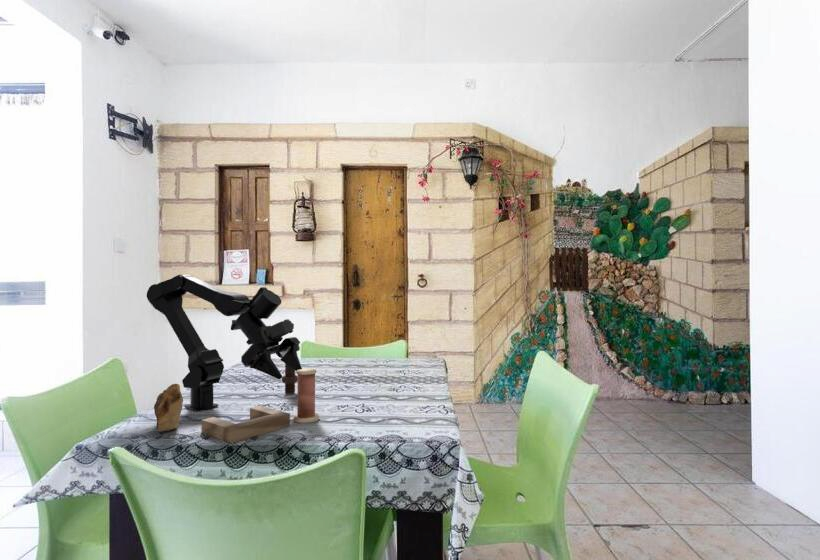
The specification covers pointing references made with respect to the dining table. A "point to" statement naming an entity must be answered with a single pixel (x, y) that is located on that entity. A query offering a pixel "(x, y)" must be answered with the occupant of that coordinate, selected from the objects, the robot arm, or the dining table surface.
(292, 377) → the bolt
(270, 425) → the notch board
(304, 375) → the bobbin
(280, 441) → the dining table surface
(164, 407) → the decorative rock
